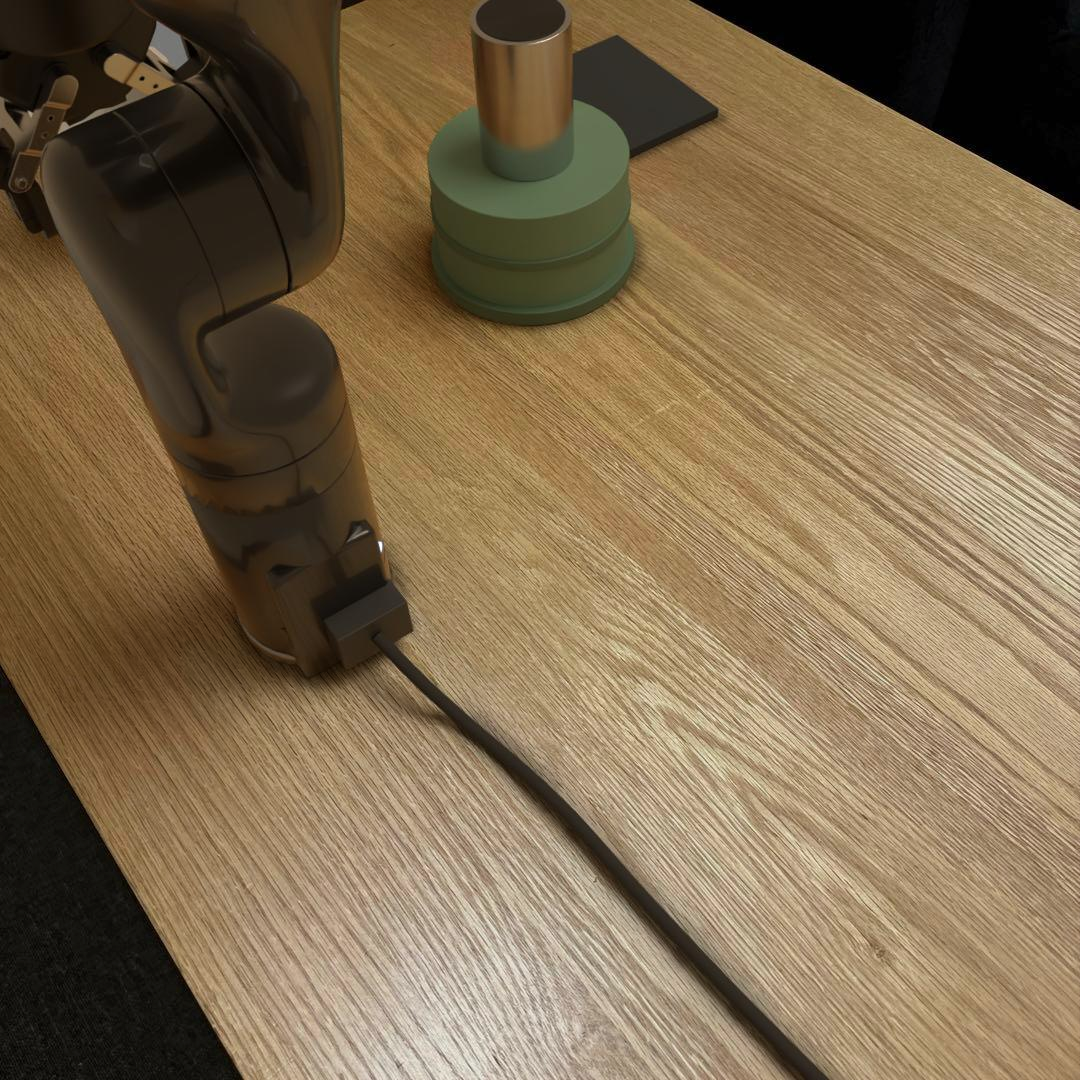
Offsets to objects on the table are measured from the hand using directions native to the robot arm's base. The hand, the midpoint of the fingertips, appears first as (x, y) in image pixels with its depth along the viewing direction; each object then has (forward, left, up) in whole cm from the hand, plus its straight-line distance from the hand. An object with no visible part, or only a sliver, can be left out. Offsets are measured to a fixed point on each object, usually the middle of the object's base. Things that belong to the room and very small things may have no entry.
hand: (120, 193), depth 64 cm
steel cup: (+2, -27, -11) cm, 30 cm away
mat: (+14, -43, -20) cm, 50 cm away
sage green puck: (+2, -27, -20) cm, 34 cm away
